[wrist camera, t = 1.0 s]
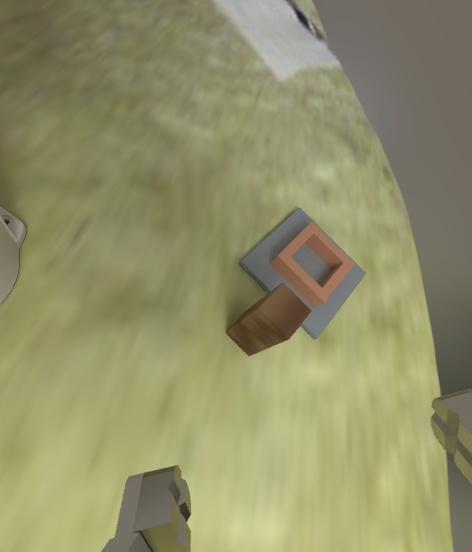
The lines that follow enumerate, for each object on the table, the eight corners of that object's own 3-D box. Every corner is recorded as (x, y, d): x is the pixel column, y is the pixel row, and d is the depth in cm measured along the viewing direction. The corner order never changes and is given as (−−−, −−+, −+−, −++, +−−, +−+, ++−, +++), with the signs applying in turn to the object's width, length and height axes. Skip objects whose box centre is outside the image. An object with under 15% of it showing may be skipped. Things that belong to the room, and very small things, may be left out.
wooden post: (225, 332, 44) (258, 308, 34) (246, 311, 47) (283, 282, 36) (248, 356, 44) (289, 339, 34) (268, 333, 46) (311, 310, 36)
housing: (238, 263, 49) (248, 252, 46) (296, 210, 57) (308, 197, 53) (314, 339, 48) (329, 333, 45) (362, 275, 56) (378, 266, 53)
